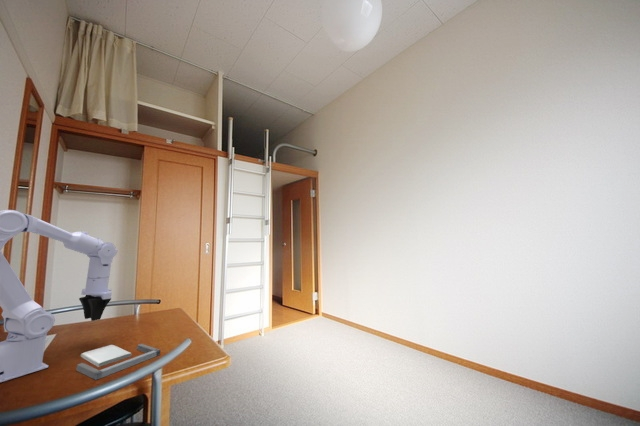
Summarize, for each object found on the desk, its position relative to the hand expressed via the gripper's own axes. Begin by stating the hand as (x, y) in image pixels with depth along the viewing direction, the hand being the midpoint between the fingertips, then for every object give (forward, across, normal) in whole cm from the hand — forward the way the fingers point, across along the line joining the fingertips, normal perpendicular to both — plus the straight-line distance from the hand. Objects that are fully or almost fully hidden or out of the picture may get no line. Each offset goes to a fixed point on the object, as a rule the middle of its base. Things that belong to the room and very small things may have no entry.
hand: (92, 319), depth 81 cm
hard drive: (+10, -11, 0) cm, 15 cm away
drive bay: (+9, -19, 0) cm, 21 cm away
